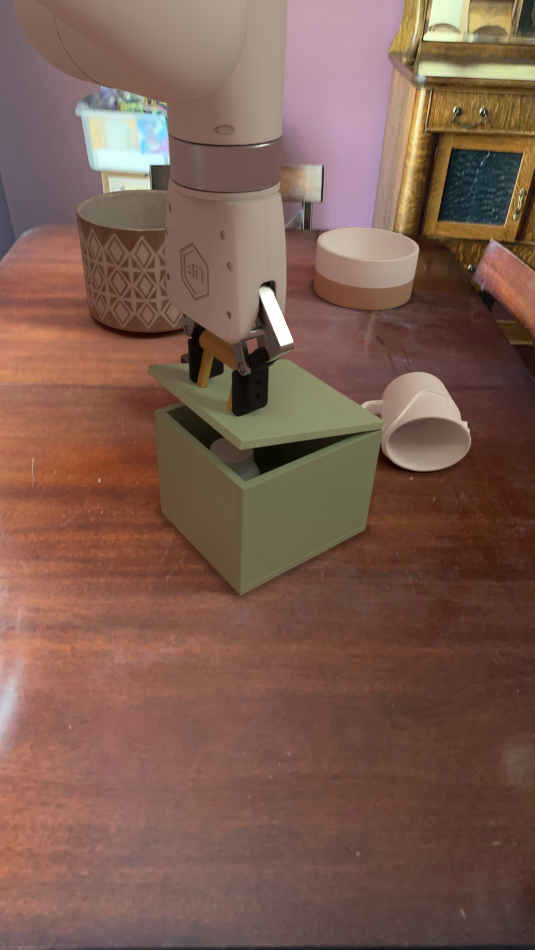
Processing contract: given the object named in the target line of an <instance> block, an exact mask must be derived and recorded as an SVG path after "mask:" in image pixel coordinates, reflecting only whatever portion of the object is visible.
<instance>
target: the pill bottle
mask: <svg viewBox="0 0 535 950" xmlns="http://www.w3.org/2000/svg"><path fill="white" fill-rule="evenodd" d="M210 451H211V452H212V453H213V454H214V455H216V456H217V457H218V458H219V459H220V460H221V461H222V462H224V463H225V464H226V465H227V466H228V467H229V468H230V469H232V470H233V471H234V472H235V473H236V474H237V475H238V476H240V477H241V478H242V479H243V480H244V481H245V482H246V481H248V480H250V479H253V478H255V477H257V476H260V471H259V468H258V466H257V465H256V464H255V463H254V462H253V461H254V449H253V448H250V449H243V450H239V449H238V448H237V447H236V446H234V445H233V444H232V443H231V442H230V441H228V440H227V439H226V438H221V439H219V440H217V441H215V442H214V443H213V444H212V445H211V447H210Z"/></svg>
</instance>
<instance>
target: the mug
mask: <svg viewBox="0 0 535 950" xmlns="http://www.w3.org/2000/svg"><path fill="white" fill-rule="evenodd" d="M360 406H362V407H363V408H365V409H366V410H368V411H369V412H371V413H373V414H374V415H380V419H382V420H383V421H385V423H384V425H383V428H382V429H383V431H382V437H381V442H380V447H381V451H382V453H383V455H384V456H385V457H387V458H388V459H389V460H390V461H391V462H392V463H393V464H395V465H396V466H398V467H401V468H402V469H406V470H409V471H413V472H435V471H439V470H444V469H447V468H449V467H452V466H453V465H455V464H457V463H458V462H460V461H461V460H462V459H464V457H466V455H467V454H468V453H469V451H470V448H471V445H472V437H471V434H470V433H471V428H469V427H468V420H462V416H461V412H460V410H459V408H458V406H457V404H456V403H455V401H454V399H453V398H452V396H451V395H450V393H449V391H448V390H447V387H446V386H445V384H444V383H443V382H442V381H441V379H440V378H438V377H437V376H435V375H433V374H431V373H429V372H423V371H413V372H407V373H405V374H402V375H400V376H398V377H396V378H394V379H393V380H392V381H391V382H389V384H388V385H387V386H386V388H384V391H383V393H382V395H381V399H374V400H368V401H364V402H362V403H361V404H360Z"/></svg>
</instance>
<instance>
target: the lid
mask: <svg viewBox="0 0 535 950" xmlns="http://www.w3.org/2000/svg"><path fill="white" fill-rule="evenodd" d="M199 344H200V346H201V347H202V348H203V349H204V351H203V356H202V361H201V366H200V370H199V375H198V380H197V383H194V382H193V381H191V380H190V377H189V363H182V364H181V363H162V364H161V363H160V364H148V367H147V375H149V376H150V377H152V378H153V379H154V380H155V381H156V382H157V383H159V384H160V385H161V386H162V387H164V389H166V390H167V391H168V392H170V393H171V394H172V395H173V396H174V397H176V398H177V399H178V400H179V402H181V401H182V402H183V403H184V404H185V405H186V406H188V407H189V408H190V409H191V410H192V411H194V412H195V413H196V414H197V415H198V416H200V417H201V418H202V419H203V420H204V421H206V422H207V423H208V424H209V425H210V426H212V427H213V428H214V429H215V430H216V431H218V432H219V433H220V434H221V435H222V436H224V437H225V438H226V439H227V440H228V441H230V442H231V443H232V444H233V445H234V446H236V447H237V448H238V449H239V450H243V449H250V448H257V447H263V446H270V445H277V444H284V443H290V442H297V441H304V440H311V439H317V438H324V437H331V436H338V435H344V434H351V433H358V432H365V431H371V430H378V429H382V428H383V425H384V423H385V421H383V420H382V419H381V417H379V416H377V414H373V413H371V412H369V411H368V410H366V409H365V408H363V407H362V406H361V404H358V403H357V402H355V400H352V399H351V398H349V397H348V396H346V395H345V394H343V393H341V392H340V391H338V390H337V389H335V388H334V387H332V386H330V384H327V383H326V382H324V381H323V380H321V379H320V378H318V377H317V376H315V375H313V374H312V373H311V372H309V371H307V370H306V369H304V368H303V367H301V366H299V365H298V364H297V363H295V362H294V361H292V360H290V359H288V358H280V359H278V360H277V361H276V362H274V365H273V366H271V367H269V380H268V403H267V405H266V406H265V407H263V408H260V409H258V410H255V411H253V412H250V413H247V414H245V415H242V416H239V417H237V416H236V415H235V414H233V412H232V371H234V370H237V364H236V359H235V354H234V349H233V344H232V343H228V342H226V341H224V340H222V339H221V338H219V337H217V336H216V335H215V334H213V333H212V332H210V331H209V330H205V331H203V332H202V334H201V335H200V338H199ZM250 354H251V353H249V355H250ZM213 357H215V358H217V359H218V360H220V361H221V362H222V363H224V372H223V374H221V375H218V376H215V377H212V378H209V376H210V371H211V366H212V361H213Z"/></svg>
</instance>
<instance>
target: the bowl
mask: <svg viewBox="0 0 535 950" xmlns="http://www.w3.org/2000/svg"><path fill="white" fill-rule="evenodd" d="M315 248H316V249H315V260H314V275H313V290H314V293H315V294H316V295H317V296H318V297H319V298H321V299H323V300H324V301H326V302H328V303H330V304H333V305H337V306H339V307H343V308H348V309H352V310H353V309H354V310H359V311H360V310H363V311H383V310H391V309H395V308H398V307H401V306H403V305H404V304H407V302H409V300H410V299H411V296H412V292H413V286H414V280H415V276H416V270H417V265H418V259H419V254H420V246H419V244H418V243H417V242H416V241H415V240H414V239H412V238H411V237H409V236H406V235H404V234H401V233H398V232H395V231H391V230H388V229H382V228H376V227H365V226H364V227H363V226H349V227H338V228H334V229H329V230H327V231H325V232H323V233H321V234H320V235H319V236H318V238H317V240H316V247H315Z"/></svg>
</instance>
